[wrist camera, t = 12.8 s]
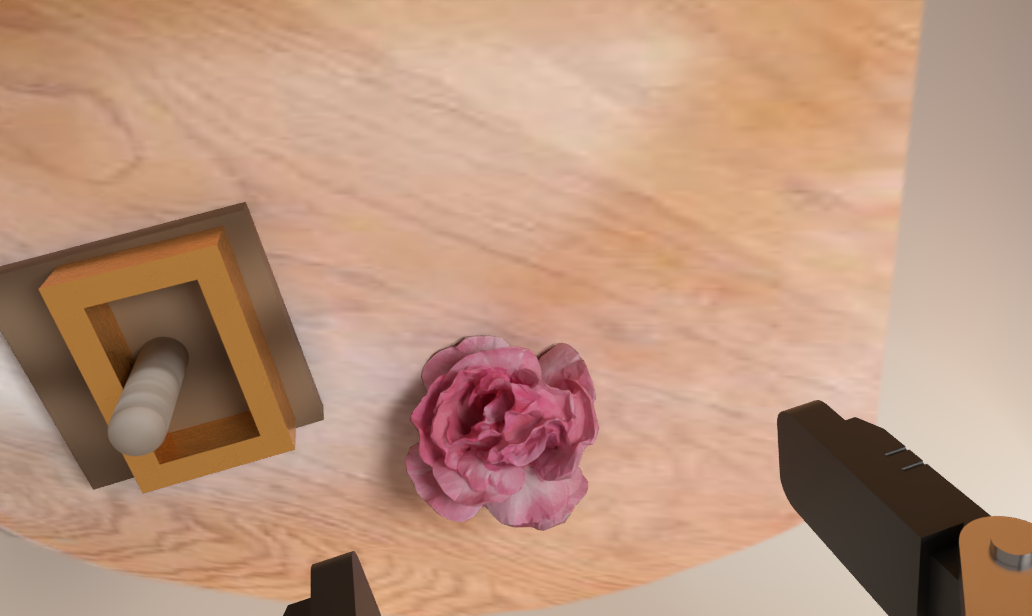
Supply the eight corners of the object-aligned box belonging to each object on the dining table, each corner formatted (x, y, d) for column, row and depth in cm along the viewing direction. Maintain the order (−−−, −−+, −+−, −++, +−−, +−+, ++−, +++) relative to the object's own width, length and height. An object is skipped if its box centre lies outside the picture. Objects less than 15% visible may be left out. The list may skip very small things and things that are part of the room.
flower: (392, 350, 49) (428, 320, 39) (537, 346, 52) (601, 319, 43) (399, 534, 47) (439, 549, 37) (550, 519, 50) (621, 528, 41)
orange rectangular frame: (57, 265, 37) (38, 288, 35) (223, 225, 38) (216, 245, 36) (153, 460, 43) (142, 493, 40) (296, 419, 44) (295, 449, 41)
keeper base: (-16, 270, 38) (-111, 361, 29) (245, 201, 40) (227, 268, 31) (99, 473, 44) (48, 598, 35) (323, 406, 45) (326, 509, 37)
